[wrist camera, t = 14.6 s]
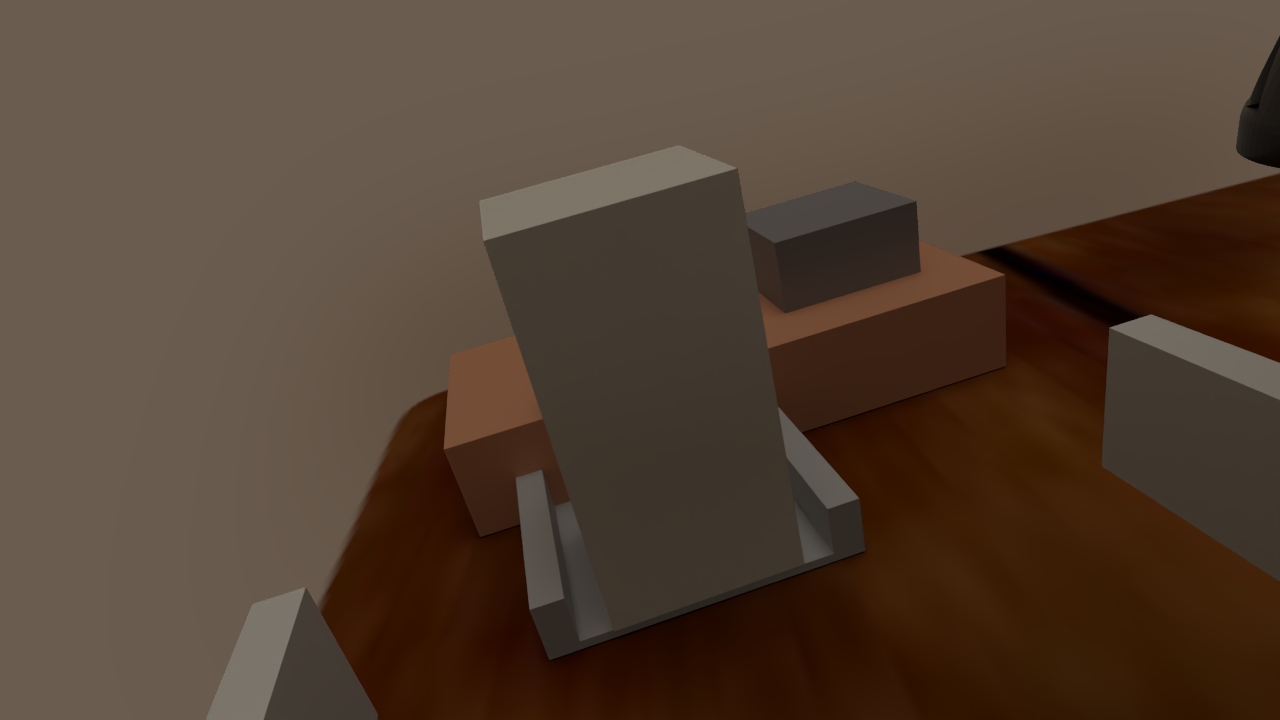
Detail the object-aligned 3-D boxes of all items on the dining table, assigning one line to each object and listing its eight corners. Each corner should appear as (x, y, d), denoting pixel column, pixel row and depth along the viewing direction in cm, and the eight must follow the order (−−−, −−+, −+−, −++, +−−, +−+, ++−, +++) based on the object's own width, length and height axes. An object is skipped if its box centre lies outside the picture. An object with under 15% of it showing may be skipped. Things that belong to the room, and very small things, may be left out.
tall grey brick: (745, 477, 26) (678, 145, 21) (804, 564, 22) (737, 168, 16) (587, 530, 25) (479, 200, 20) (614, 631, 21) (483, 240, 16)
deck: (889, 299, 37) (878, 165, 34) (1153, 450, 23) (1172, 243, 20) (478, 426, 35) (428, 295, 32) (482, 683, 21) (392, 488, 18)
